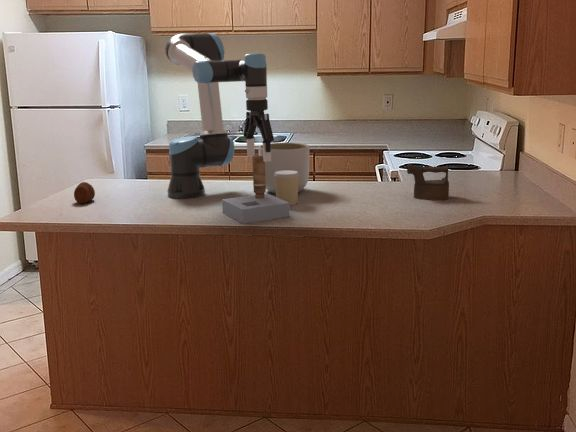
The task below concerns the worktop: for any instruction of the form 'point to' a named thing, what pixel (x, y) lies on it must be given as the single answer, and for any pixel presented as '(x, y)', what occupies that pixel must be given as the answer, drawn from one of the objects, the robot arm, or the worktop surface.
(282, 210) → the board
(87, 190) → the potato
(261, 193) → the peg
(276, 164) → the planter
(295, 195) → the coffee cup
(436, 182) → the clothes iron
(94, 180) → the worktop surface
